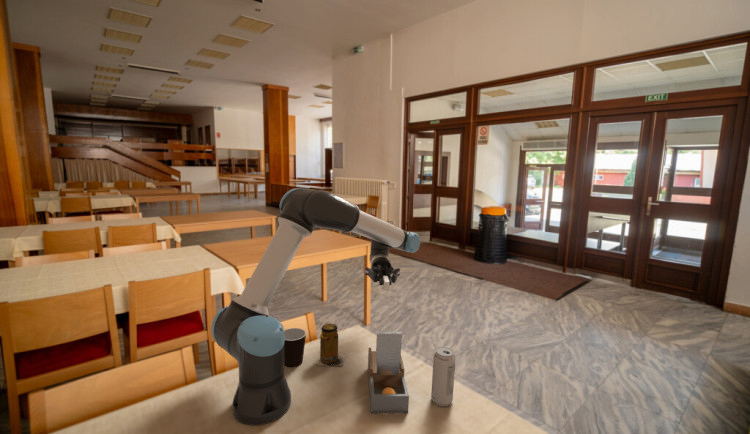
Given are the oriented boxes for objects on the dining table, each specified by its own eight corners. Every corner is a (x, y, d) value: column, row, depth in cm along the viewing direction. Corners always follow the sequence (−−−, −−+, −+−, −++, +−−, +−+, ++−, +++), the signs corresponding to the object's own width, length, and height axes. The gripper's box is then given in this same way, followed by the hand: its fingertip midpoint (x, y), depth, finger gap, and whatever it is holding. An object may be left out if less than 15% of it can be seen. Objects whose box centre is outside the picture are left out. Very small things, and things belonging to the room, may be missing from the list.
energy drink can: (436, 391, 103) (439, 343, 101) (455, 399, 99) (459, 350, 97) (427, 401, 98) (430, 352, 96) (447, 410, 94) (450, 359, 92)
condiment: (321, 353, 121) (321, 321, 119) (345, 355, 121) (346, 322, 119) (316, 365, 114) (317, 331, 112) (342, 366, 114) (343, 332, 112)
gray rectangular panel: (375, 375, 99) (377, 333, 97) (375, 372, 100) (376, 331, 98) (399, 375, 99) (401, 333, 98) (399, 372, 101) (401, 331, 99)
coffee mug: (299, 371, 110) (299, 342, 109) (274, 367, 112) (274, 338, 110) (313, 352, 122) (313, 325, 120) (290, 349, 123) (290, 322, 122)
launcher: (369, 391, 101) (370, 369, 100) (367, 368, 113) (368, 347, 112) (403, 391, 102) (404, 368, 101) (398, 368, 114) (399, 347, 113)
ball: (380, 402, 93) (380, 386, 96) (383, 404, 97) (382, 388, 99) (395, 402, 93) (394, 385, 95) (397, 404, 96) (396, 388, 98)
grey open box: (371, 413, 92) (371, 396, 92) (369, 391, 101) (370, 376, 101) (408, 412, 93) (409, 395, 92) (403, 391, 102) (404, 375, 101)
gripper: (397, 275, 134) (406, 297, 111) (363, 274, 133) (366, 297, 110) (398, 256, 133) (407, 275, 110) (364, 255, 132) (367, 274, 109)
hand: (386, 286), depth 110 cm, fingers closed
